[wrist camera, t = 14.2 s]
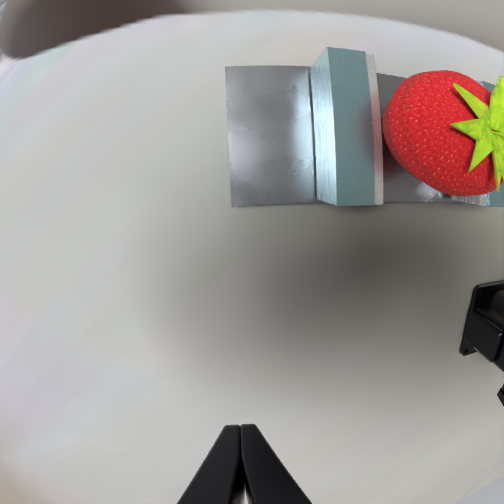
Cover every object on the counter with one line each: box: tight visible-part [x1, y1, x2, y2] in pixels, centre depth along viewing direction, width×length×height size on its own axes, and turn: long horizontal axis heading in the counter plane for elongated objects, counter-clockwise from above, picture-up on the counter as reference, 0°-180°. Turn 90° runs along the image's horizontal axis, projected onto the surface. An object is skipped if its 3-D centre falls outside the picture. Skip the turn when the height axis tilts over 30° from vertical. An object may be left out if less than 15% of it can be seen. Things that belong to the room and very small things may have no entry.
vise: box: [225, 66, 504, 207], centre depth 15 cm, size 16×8×5 cm, turn 93°
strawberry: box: [382, 70, 504, 197], centre depth 12 cm, size 6×8×10 cm
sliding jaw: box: [310, 47, 383, 206], centre depth 14 cm, size 2×8×4 cm, turn 3°
